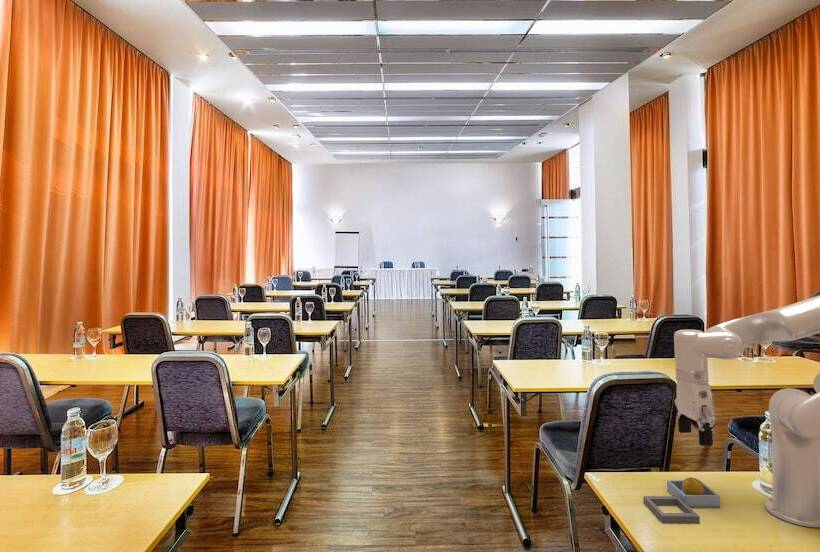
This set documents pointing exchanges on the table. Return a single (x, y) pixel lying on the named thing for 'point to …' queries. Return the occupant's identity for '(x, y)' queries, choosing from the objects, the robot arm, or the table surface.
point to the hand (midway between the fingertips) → (695, 438)
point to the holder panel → (685, 517)
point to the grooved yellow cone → (693, 487)
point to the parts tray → (694, 496)
